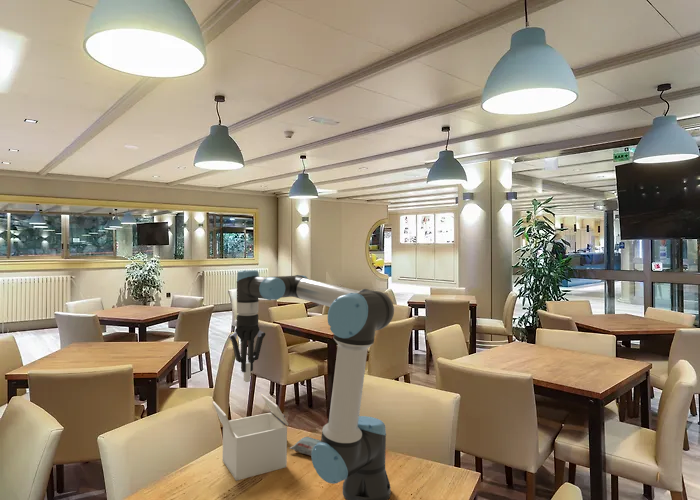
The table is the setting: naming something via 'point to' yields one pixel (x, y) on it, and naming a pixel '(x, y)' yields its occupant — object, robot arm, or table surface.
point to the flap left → (223, 419)
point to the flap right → (274, 409)
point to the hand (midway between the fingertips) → (246, 380)
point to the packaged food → (305, 445)
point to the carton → (255, 446)
